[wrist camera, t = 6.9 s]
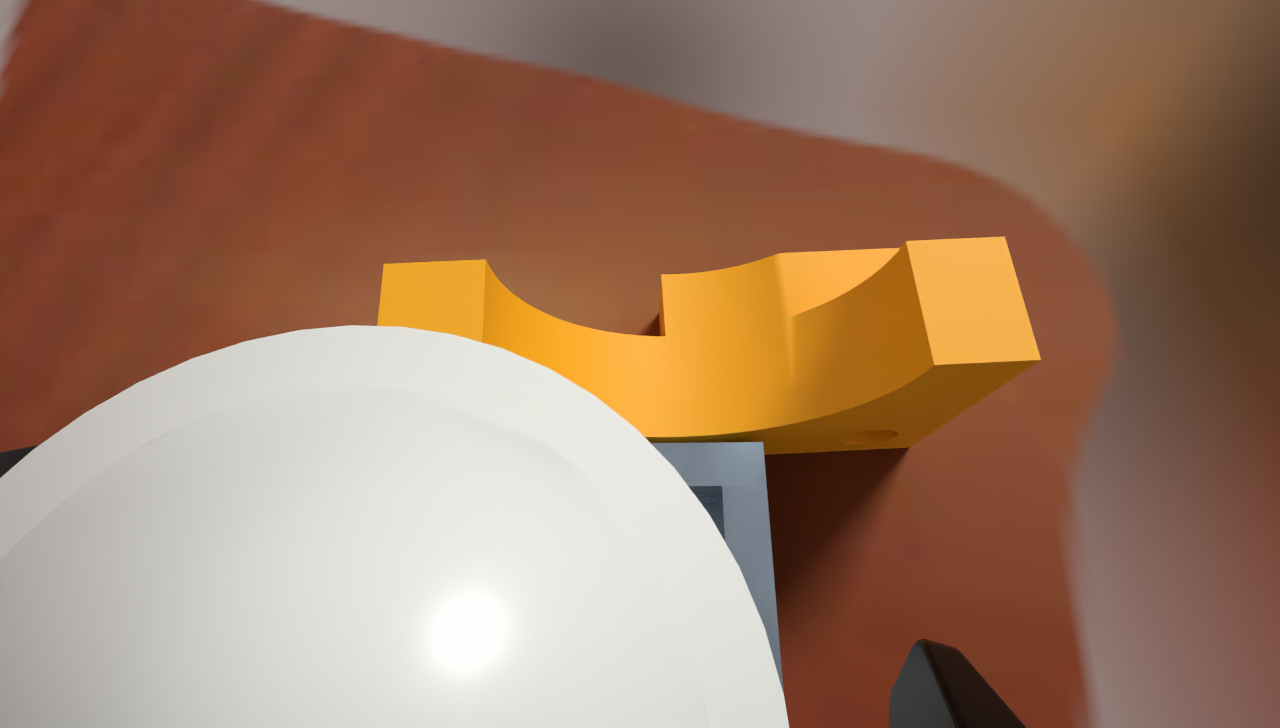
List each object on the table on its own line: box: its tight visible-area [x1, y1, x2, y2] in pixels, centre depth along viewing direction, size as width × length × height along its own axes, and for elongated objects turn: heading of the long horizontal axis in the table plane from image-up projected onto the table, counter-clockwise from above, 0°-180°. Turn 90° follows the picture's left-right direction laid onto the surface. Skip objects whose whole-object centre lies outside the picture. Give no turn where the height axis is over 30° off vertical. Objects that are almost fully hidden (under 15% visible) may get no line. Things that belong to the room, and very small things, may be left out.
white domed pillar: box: [0, 325, 789, 728], centre depth 9 cm, size 5×5×13 cm
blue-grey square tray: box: [651, 442, 784, 694], centre depth 15 cm, size 9×9×2 cm
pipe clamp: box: [377, 237, 1041, 455], centre depth 16 cm, size 12×4×6 cm, turn 93°
